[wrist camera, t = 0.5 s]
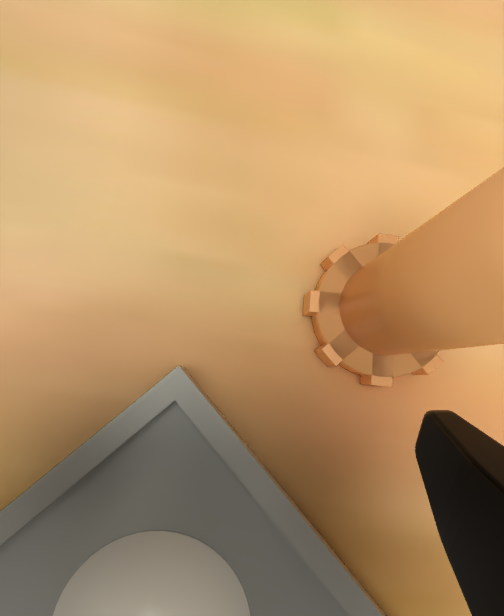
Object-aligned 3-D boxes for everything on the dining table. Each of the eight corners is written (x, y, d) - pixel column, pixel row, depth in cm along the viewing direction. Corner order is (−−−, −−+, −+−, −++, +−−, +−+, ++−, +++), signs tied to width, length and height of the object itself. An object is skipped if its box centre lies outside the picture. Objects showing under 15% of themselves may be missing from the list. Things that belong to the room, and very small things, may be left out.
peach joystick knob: (470, 322, 24) (778, 262, 11) (368, 415, 22) (576, 471, 10) (378, 216, 24) (569, 35, 11) (273, 302, 23) (352, 212, 10)
